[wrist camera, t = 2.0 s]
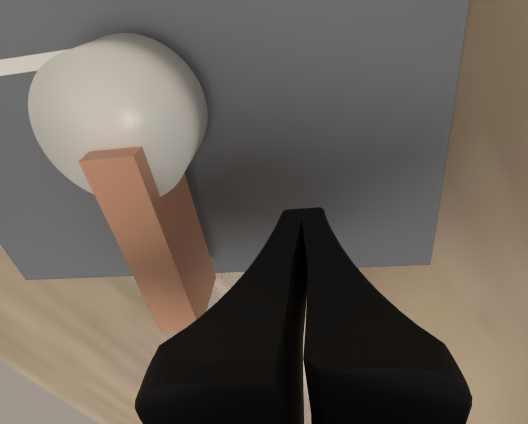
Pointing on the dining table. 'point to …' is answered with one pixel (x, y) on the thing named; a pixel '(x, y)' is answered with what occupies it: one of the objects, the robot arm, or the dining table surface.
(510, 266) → the dining table surface
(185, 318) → the ball on stick
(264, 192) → the flat gray plate
